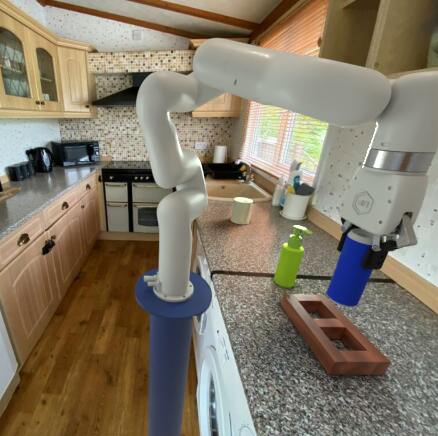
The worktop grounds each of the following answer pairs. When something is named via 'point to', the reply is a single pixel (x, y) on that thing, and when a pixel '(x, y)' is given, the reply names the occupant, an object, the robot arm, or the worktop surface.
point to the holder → (333, 336)
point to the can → (241, 210)
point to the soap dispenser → (290, 258)
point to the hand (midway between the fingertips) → (357, 258)
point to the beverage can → (351, 270)
